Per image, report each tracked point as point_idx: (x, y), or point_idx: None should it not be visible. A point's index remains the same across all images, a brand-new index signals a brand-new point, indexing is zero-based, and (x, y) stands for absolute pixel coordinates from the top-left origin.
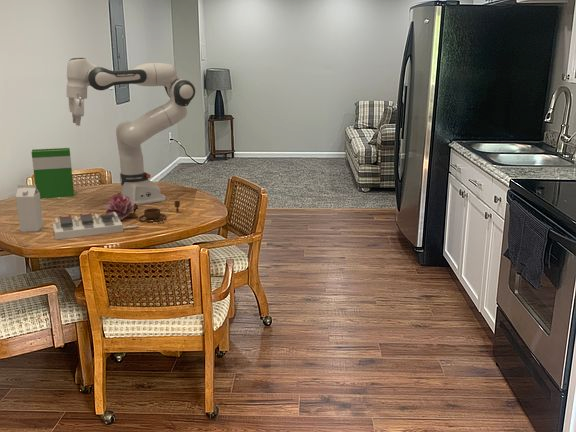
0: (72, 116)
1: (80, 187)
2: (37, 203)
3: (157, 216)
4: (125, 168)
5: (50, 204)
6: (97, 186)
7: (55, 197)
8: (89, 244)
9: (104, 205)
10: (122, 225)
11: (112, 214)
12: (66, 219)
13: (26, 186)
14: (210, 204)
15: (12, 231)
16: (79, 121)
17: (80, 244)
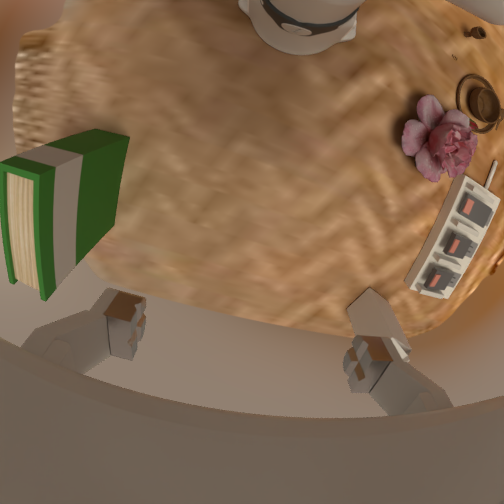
0: (79, 371)
1: (48, 101)
2: (397, 330)
3: (493, 105)
4: (344, 13)
5: (185, 216)
6: (60, 58)
7: (119, 184)
8: (490, 262)
9: (428, 176)
10: (499, 199)
11: (487, 206)
12: (442, 280)
13: None
14: None
15: (351, 328)
16: (404, 371)
17: (481, 271)
